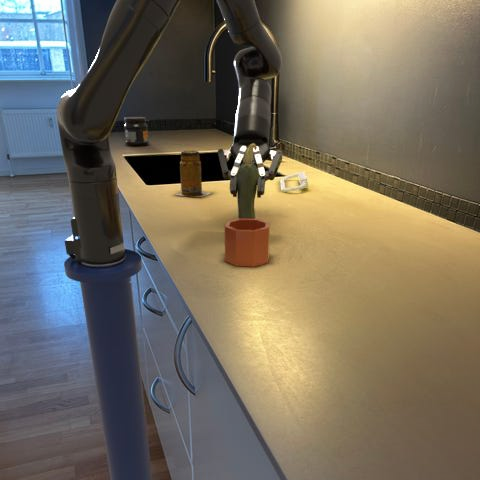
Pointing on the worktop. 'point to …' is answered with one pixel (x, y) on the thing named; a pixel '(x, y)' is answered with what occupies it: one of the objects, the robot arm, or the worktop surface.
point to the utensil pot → (247, 242)
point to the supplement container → (136, 131)
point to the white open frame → (301, 178)
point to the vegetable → (247, 185)
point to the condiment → (191, 175)
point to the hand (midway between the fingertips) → (246, 195)
